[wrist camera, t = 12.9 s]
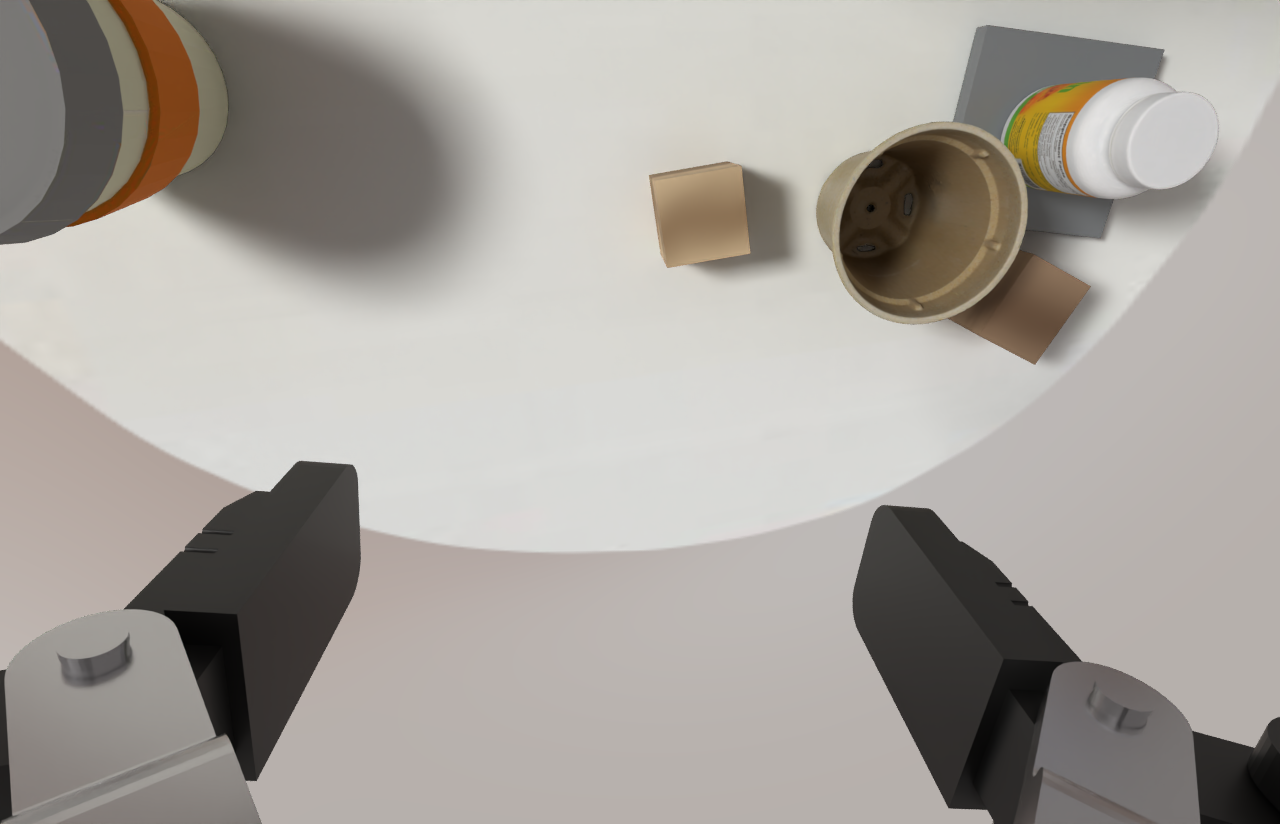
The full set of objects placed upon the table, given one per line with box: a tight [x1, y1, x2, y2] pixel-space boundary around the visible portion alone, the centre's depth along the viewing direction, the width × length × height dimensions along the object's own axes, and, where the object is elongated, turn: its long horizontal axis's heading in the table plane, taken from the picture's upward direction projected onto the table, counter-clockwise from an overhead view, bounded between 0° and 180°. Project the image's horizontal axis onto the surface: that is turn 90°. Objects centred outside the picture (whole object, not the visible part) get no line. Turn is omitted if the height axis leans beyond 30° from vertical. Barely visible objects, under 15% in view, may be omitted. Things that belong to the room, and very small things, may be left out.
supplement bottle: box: [1001, 78, 1219, 199], centre depth 35 cm, size 5×5×10 cm
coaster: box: [953, 25, 1164, 238], centre depth 40 cm, size 10×10×1 cm
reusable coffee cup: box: [0, 0, 228, 245], centre depth 31 cm, size 13×13×15 cm
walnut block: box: [948, 250, 1091, 365], centre depth 42 cm, size 5×4×5 cm
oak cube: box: [649, 162, 750, 268], centre depth 40 cm, size 4×4×4 cm
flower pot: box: [816, 122, 1028, 325], centre depth 38 cm, size 9×9×9 cm
